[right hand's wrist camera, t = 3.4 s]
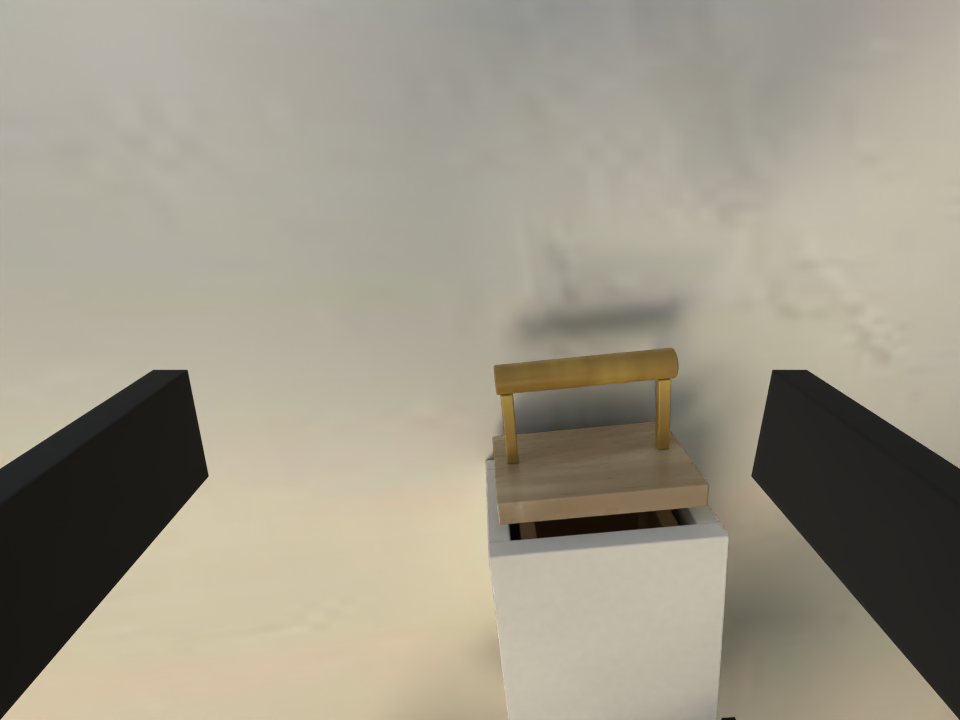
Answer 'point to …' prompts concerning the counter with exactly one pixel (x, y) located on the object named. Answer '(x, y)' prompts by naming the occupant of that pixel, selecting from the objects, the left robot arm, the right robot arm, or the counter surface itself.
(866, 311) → the counter surface
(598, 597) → the cabinet
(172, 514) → the right robot arm
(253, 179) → the counter surface
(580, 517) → the drawer
